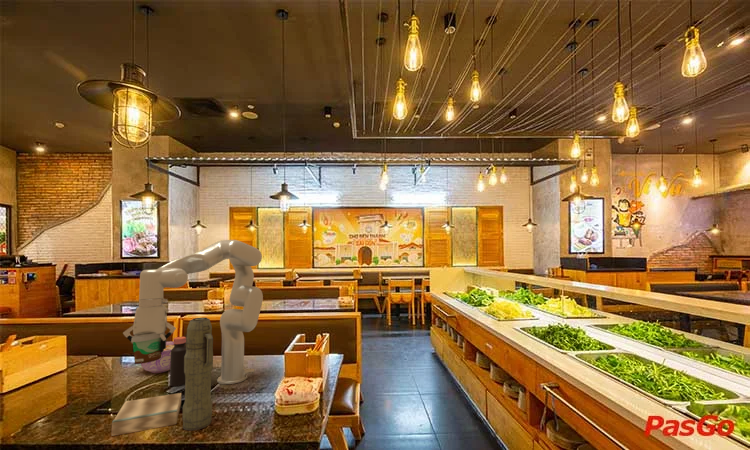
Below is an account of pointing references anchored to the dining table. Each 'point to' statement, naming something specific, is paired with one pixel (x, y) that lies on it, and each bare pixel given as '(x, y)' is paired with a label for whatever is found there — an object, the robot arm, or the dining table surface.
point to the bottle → (177, 362)
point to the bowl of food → (160, 361)
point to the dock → (147, 414)
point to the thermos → (198, 374)
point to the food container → (146, 348)
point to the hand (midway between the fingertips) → (149, 352)
